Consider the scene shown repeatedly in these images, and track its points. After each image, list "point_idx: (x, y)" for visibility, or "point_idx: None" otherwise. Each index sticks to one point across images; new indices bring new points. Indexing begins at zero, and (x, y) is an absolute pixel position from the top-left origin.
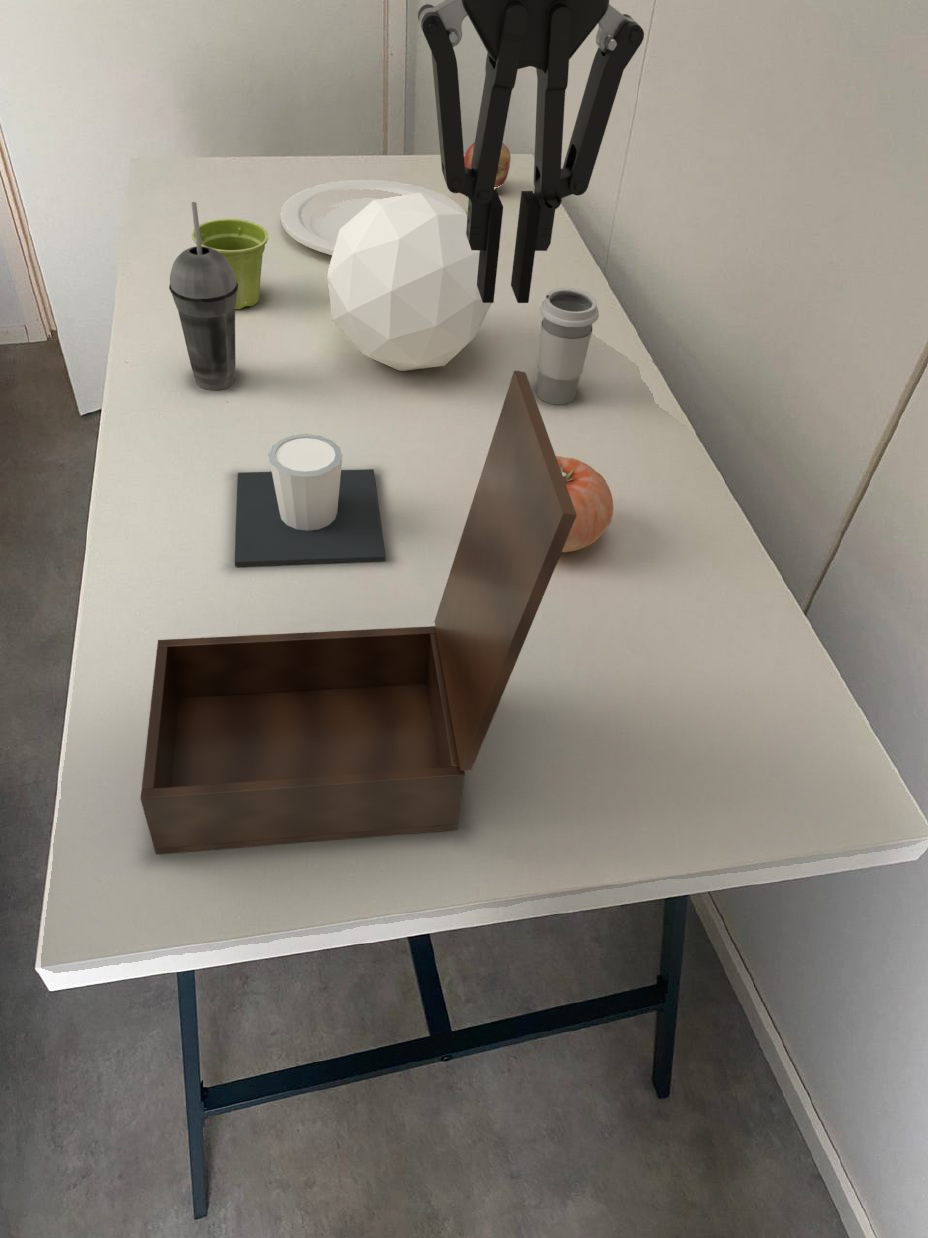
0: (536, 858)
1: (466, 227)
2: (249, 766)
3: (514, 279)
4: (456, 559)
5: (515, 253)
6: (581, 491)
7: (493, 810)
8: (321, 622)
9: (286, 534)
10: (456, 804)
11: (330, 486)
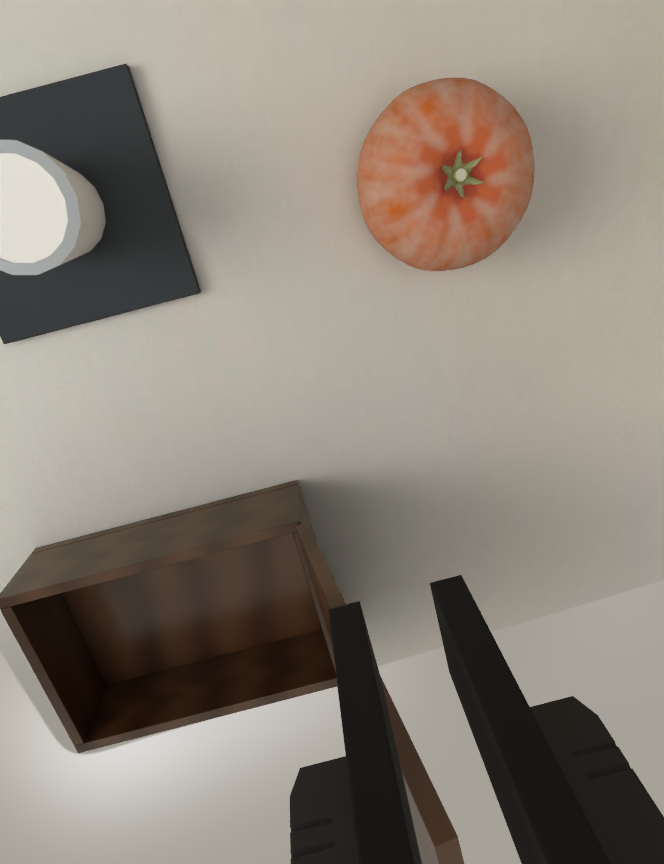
0: (406, 636)
1: (290, 823)
2: (146, 614)
3: (446, 640)
4: (321, 589)
5: (463, 672)
6: (488, 215)
7: (369, 603)
8: (152, 417)
9: (48, 271)
10: None
11: (82, 245)
